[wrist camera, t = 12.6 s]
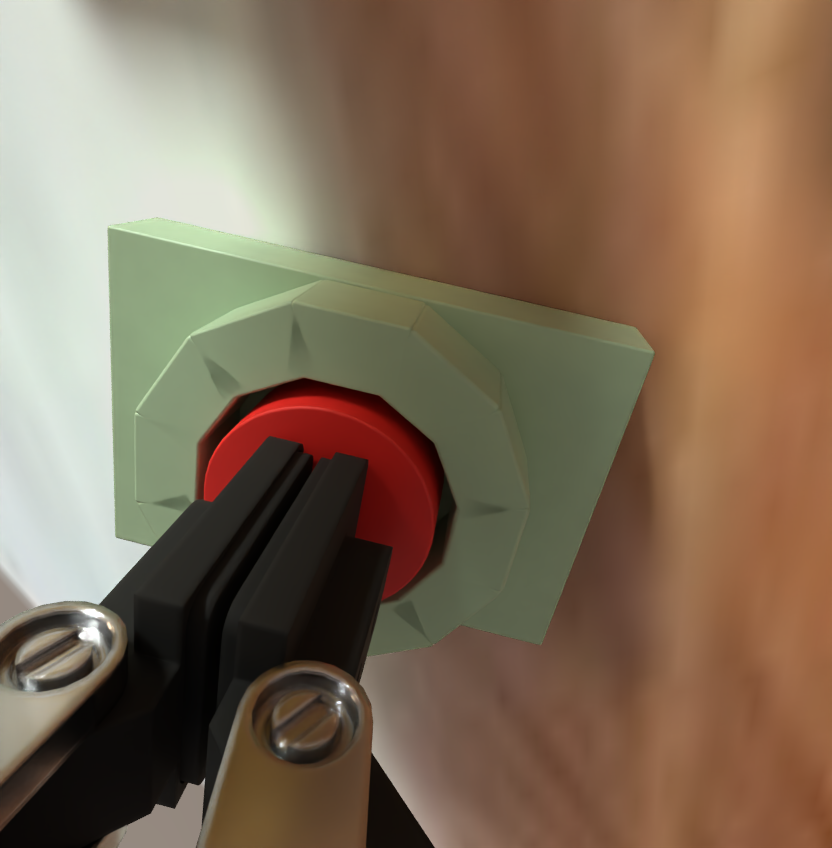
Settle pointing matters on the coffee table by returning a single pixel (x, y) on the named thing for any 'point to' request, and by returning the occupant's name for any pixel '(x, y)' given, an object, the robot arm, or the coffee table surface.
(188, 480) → the button box
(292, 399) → the stop button
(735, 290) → the coffee table surface
